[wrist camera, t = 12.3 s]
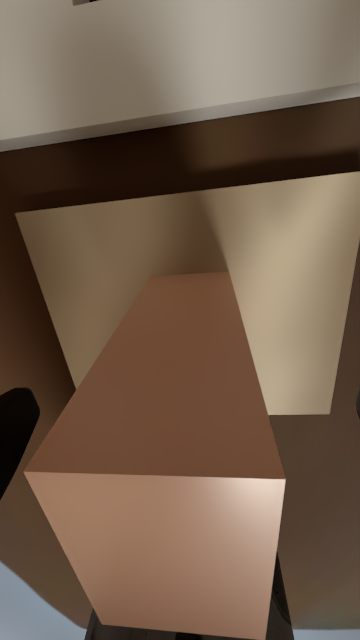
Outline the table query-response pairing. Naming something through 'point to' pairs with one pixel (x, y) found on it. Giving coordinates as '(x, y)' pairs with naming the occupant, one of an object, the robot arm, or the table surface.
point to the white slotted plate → (166, 63)
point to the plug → (169, 468)
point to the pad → (213, 256)
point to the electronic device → (277, 634)
